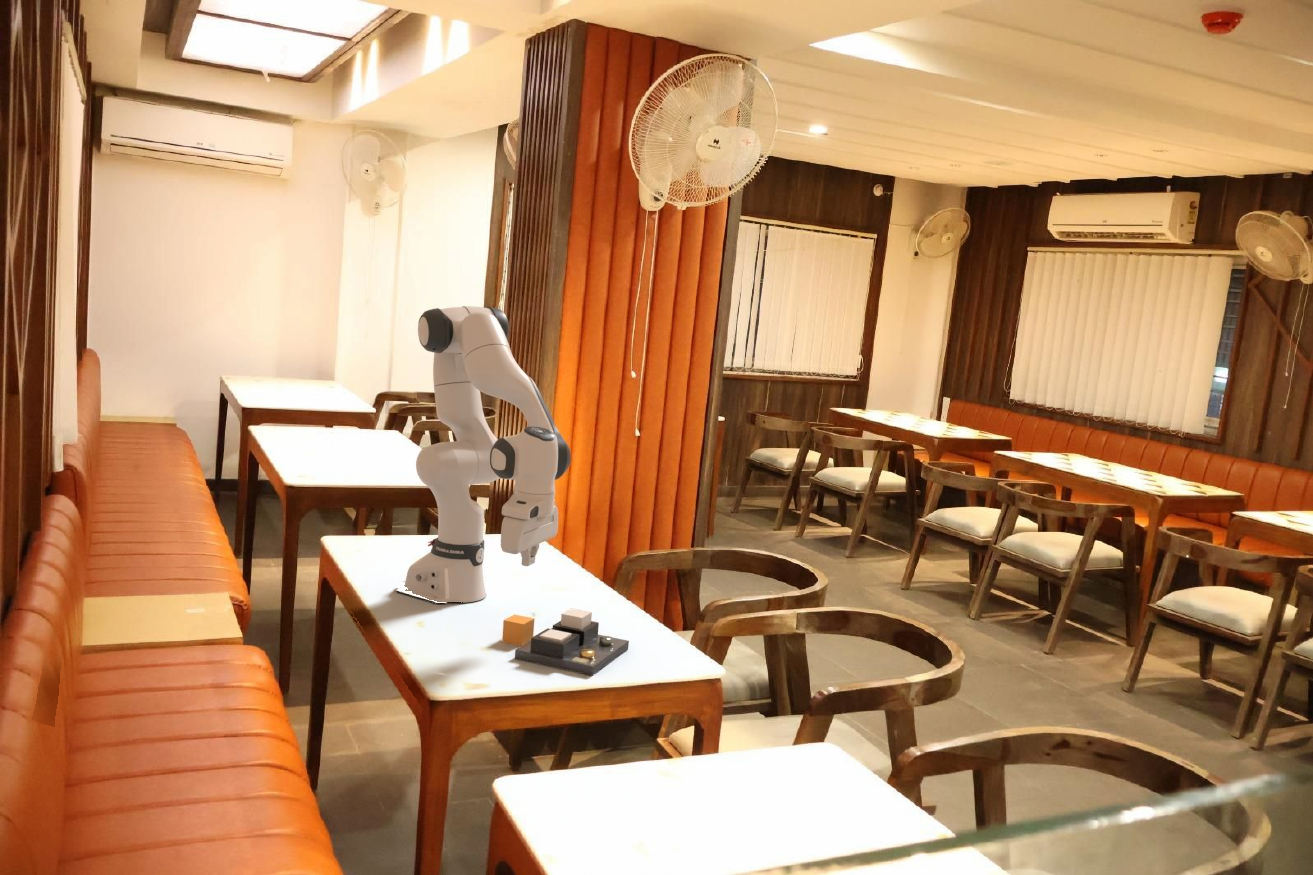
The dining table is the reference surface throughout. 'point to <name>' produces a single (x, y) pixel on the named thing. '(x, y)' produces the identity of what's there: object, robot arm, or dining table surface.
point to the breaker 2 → (576, 618)
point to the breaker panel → (573, 650)
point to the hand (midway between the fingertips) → (528, 564)
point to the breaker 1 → (555, 635)
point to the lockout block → (518, 630)
